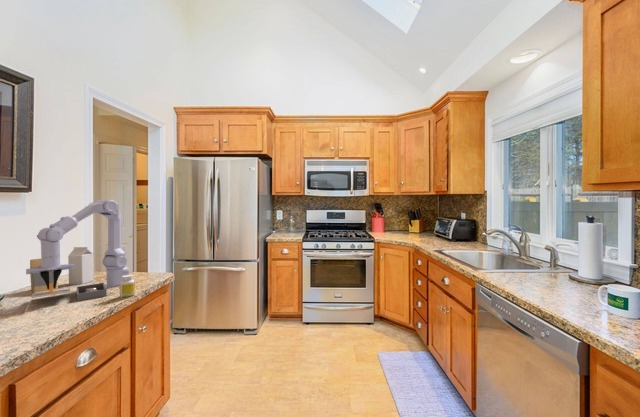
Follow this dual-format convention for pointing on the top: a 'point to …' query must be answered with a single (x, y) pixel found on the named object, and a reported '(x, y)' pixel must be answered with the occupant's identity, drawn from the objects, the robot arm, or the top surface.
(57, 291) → the lid
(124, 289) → the supplement bottle
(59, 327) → the top surface
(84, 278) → the milk carton
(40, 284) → the sandwich container
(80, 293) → the tub
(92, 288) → the domed metal puck
